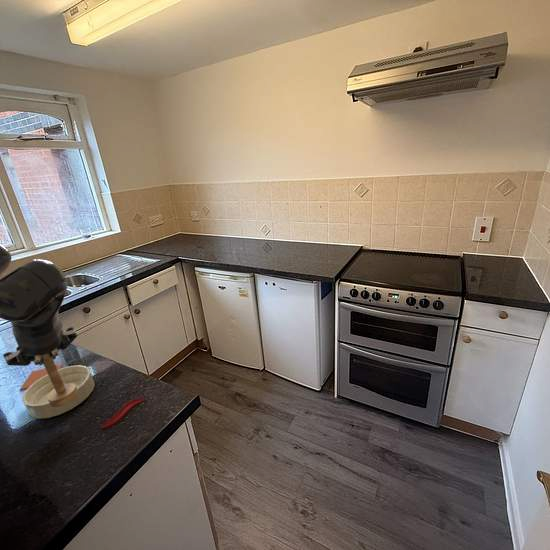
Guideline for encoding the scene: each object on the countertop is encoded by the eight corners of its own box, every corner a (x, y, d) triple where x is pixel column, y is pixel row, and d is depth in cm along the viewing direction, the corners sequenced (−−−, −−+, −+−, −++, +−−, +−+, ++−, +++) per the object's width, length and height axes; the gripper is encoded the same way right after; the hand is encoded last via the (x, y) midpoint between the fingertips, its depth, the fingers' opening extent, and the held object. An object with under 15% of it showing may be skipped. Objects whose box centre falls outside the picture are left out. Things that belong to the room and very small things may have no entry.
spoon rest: (20, 390, 91) (19, 389, 91) (32, 372, 100) (31, 371, 99) (53, 382, 94) (53, 380, 94) (62, 365, 102) (62, 363, 102)
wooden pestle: (46, 410, 71) (21, 358, 66) (54, 393, 77) (32, 344, 71) (74, 402, 73) (52, 351, 67) (80, 386, 78) (60, 337, 73)
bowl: (18, 428, 77) (10, 413, 76) (42, 387, 92) (36, 374, 90) (88, 408, 82) (81, 394, 80) (100, 372, 96) (95, 359, 94)
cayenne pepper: (143, 395, 84) (142, 390, 83) (149, 404, 81) (147, 399, 80) (97, 420, 77) (94, 415, 76) (101, 431, 74) (98, 425, 73)
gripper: (69, 302, 65) (71, 333, 78) (-14, 330, 56) (3, 360, 68) (85, 330, 64) (84, 357, 76) (2, 364, 55) (17, 388, 67)
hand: (46, 358), depth 72 cm, fingers closed on wooden pestle
